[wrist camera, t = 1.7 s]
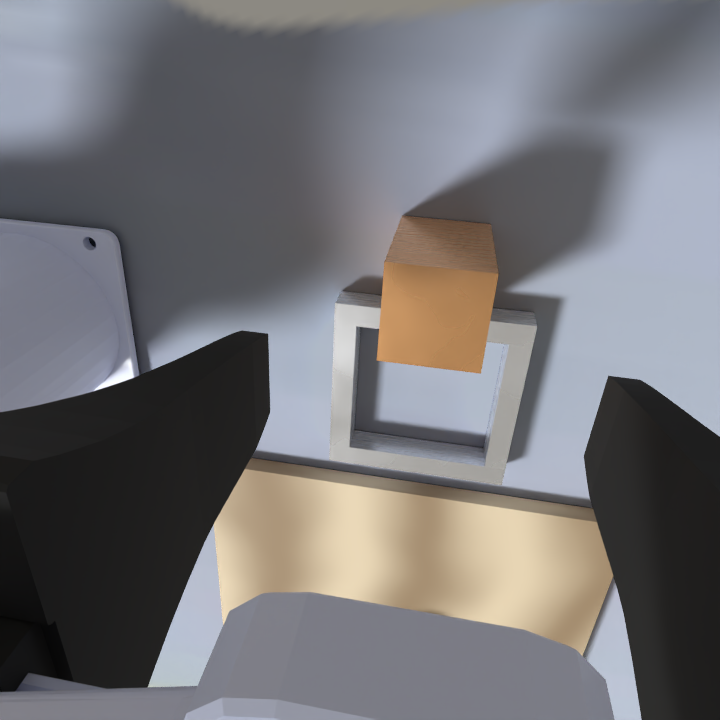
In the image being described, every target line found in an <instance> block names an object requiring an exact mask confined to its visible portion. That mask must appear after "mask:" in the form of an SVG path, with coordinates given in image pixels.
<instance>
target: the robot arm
mask: <svg viewBox="0 0 720 720" xmlns="http://www.w3.org/2000/svg"><path fill="white" fill-rule="evenodd" d="M89 237H90V238H92V239H93V240H94V241H95V243H96V247H94V246H92V245H91V244H90V242H89ZM269 414H270V390H269V350H268V334H265V333H257V332H249V331H239V332H236V333H233V334H231V335H228V336H226V337H224V338H221V339H219V340H217V341H215V342H213V343H211V344H209V345H207V346H205V347H202V348H200V349H198V350H196V351H194V352H192V353H190V354H188V355H185V356H183V357H181V358H179V359H177V360H175V361H172V362H170V363H168V364H165V365H163V366H161V367H158V368H156V369H153V370H151V371H149V372H146V373H144V374H142V375H139V369H138V363H137V356H136V350H135V343H134V336H133V330H132V323H131V317H130V310H129V303H128V297H127V290H126V284H125V277H124V270H123V264H122V257H121V251H120V244H119V241H118V238H117V237H116V236H115V234H114V233H112V232H111V231H109V230H106V229H97V228H88V227H78V226H69V225H59V224H49V223H40V222H30V221H21V220H11V219H2V218H0V720H614V715H613V711H612V707H611V702H610V698H609V693H608V689H607V684H606V680H605V679H604V678H603V677H602V676H601V675H600V674H599V673H598V672H597V671H596V670H595V668H594V667H593V666H592V665H591V664H590V663H589V662H588V661H587V660H586V659H585V658H584V657H583V656H582V655H581V654H580V653H579V652H578V651H577V650H576V649H574V648H572V647H570V646H568V645H565V644H562V643H560V642H557V641H554V640H551V639H549V638H546V637H543V636H540V635H538V634H535V633H532V632H529V631H527V630H524V629H518V628H512V627H507V626H501V625H495V624H490V623H484V622H478V621H473V620H467V619H461V618H456V617H450V616H444V615H439V614H433V613H427V612H421V611H416V610H410V609H404V608H399V607H393V606H387V605H382V604H376V603H370V602H365V601H359V600H353V599H348V598H342V597H336V596H331V595H325V594H319V593H313V592H269V593H263V594H260V595H258V596H256V597H254V598H253V599H251V600H249V601H247V602H245V603H243V604H242V605H240V606H238V607H236V608H234V609H232V610H230V611H229V613H228V616H227V618H226V620H225V623H224V625H223V627H222V630H221V632H220V634H219V637H218V639H217V642H216V644H215V646H214V649H213V651H212V653H211V656H210V658H209V660H208V663H207V665H206V668H205V670H204V672H203V675H202V677H201V679H200V682H199V684H198V686H181V687H149V688H147V687H148V684H149V682H150V679H151V676H152V673H153V671H154V668H155V665H156V662H157V660H158V657H159V654H160V652H161V649H162V646H163V644H164V641H165V638H166V635H167V633H168V630H169V627H170V625H171V622H172V620H173V617H174V615H175V612H176V610H177V607H178V605H179V602H180V600H181V597H182V595H183V592H184V590H185V587H186V585H187V582H188V580H189V577H190V575H191V573H192V570H193V568H194V566H195V563H196V561H197V558H198V556H199V554H200V551H201V549H202V547H203V544H204V542H205V540H206V538H207V536H208V534H209V532H210V530H211V528H212V526H213V524H214V523H215V521H216V519H217V517H218V515H219V514H220V512H221V510H222V508H223V507H224V505H225V503H226V501H227V500H228V498H229V496H230V494H231V493H232V491H233V489H234V487H235V486H236V484H237V482H238V480H239V479H240V477H241V475H242V473H243V471H244V470H245V468H246V466H247V464H248V462H249V461H250V459H251V457H252V455H253V453H254V451H255V450H256V448H257V445H258V443H259V440H260V438H261V435H262V433H263V430H264V427H265V425H266V422H267V419H268V416H269ZM584 460H585V468H586V476H587V483H588V490H589V496H590V500H591V503H592V507H593V510H594V514H595V517H596V521H597V524H598V527H599V531H600V534H601V537H602V540H603V544H604V547H605V550H606V553H607V557H608V560H609V563H610V566H611V570H612V573H613V576H614V579H615V583H616V586H617V589H618V593H619V597H620V601H621V605H622V608H623V612H624V617H625V623H626V628H627V634H628V639H629V645H630V650H631V656H632V661H633V667H634V674H635V680H636V686H637V693H638V699H639V705H640V711H641V718H642V720H720V437H719V436H718V435H716V434H715V433H714V432H712V431H711V430H710V429H708V428H707V427H705V426H704V425H703V424H701V423H700V422H699V421H697V420H696V419H695V418H693V417H692V416H691V415H689V414H688V413H687V412H685V411H684V410H682V409H681V408H680V407H678V406H677V405H676V404H674V403H673V402H672V401H670V400H669V399H668V398H666V397H665V396H664V395H662V394H661V393H659V392H658V391H657V390H655V389H654V388H652V387H651V386H649V385H648V384H646V383H644V382H643V381H641V380H637V379H629V378H621V377H613V376H608V379H607V382H606V385H605V389H604V392H603V395H602V398H601V402H600V405H599V408H598V412H597V415H596V418H595V421H594V425H593V428H592V431H591V434H590V438H589V441H588V444H587V448H586V451H585V454H584Z"/></svg>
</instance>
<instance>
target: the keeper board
mask: <svg viewBox="0 0 720 720" xmlns="http://www.w3.org/2000/svg"><path fill="white" fill-rule="evenodd" d="M214 531H215V541H216V552H217V563H218V574H219V585H220V596H221V606H222V617H223V625H224V623H225V620H226V618H227V616H228V613H229V611H230V610H232V609H234V608H236V607H238V606H240V605H242V604H243V603H245V602H247V601H249V600H251V599H253V598H254V597H256V596H258V595H260V594H263V593H269V592H313V593H319V594H325V595H331V596H336V597H342V598H348V599H353V600H359V601H365V602H370V603H376V604H382V605H387V606H393V607H399V608H404V609H410V610H416V611H421V612H427V613H433V614H439V615H444V616H450V617H456V618H461V619H467V620H473V621H478V622H484V623H490V624H495V625H501V626H507V627H512V628H518V629H524V630H527V631H529V632H532V633H535V634H538V635H540V636H543V637H546V638H549V639H551V640H554V641H557V642H560V643H562V644H565V645H568V646H570V647H572V648H574V649H576V650H577V651H578V652H579V653H580V654H581V655H582V656H583V653H584V651H585V648H586V645H587V643H588V640H589V638H590V635H591V632H592V630H593V627H594V625H595V622H596V619H597V617H598V614H599V612H600V609H601V607H602V604H603V601H604V599H605V596H606V594H607V591H608V588H609V586H610V583H611V581H612V578H613V573H612V570H611V566H610V563H609V560H608V557H607V553H606V550H605V547H604V544H603V540H602V537H601V534H600V531H599V527H598V524H597V521H596V517H595V514H594V510H593V509H592V508H585V507H579V506H572V505H565V504H558V503H552V502H545V501H538V500H532V499H525V498H518V497H511V496H505V495H498V494H491V493H484V492H478V491H471V490H464V489H458V488H451V487H444V486H437V485H431V484H424V483H417V482H410V481H404V480H397V479H390V478H384V477H377V476H370V475H363V474H357V473H350V472H343V471H336V470H330V469H323V468H316V467H310V466H303V465H296V464H289V463H283V462H276V461H269V460H263V459H256V458H251V459H250V461H249V462H248V464H247V466H246V468H245V470H244V471H243V473H242V475H241V477H240V479H239V480H238V482H237V484H236V486H235V487H234V489H233V491H232V493H231V494H230V496H229V498H228V500H227V501H226V503H225V505H224V507H223V508H222V510H221V512H220V514H219V515H218V517H217V519H216V521H215V523H214Z"/></svg>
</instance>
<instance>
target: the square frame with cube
mask: <svg viewBox="0 0 720 720" xmlns="http://www.w3.org/2000/svg"><path fill="white" fill-rule="evenodd" d="M498 275H499V272H498V266H497V260H496V253H495V247H494V241H493V234H492V228H491V224H485V223H475V222H464V221H454V220H443V219H433V218H423V217H412V216H402V218H401V220H400V223H399V225H398V228H397V231H396V233H395V236H394V238H393V241H392V244H391V246H390V249H389V251H388V254H387V257H386V259H385V262H384V274H383V287H382V295H373V294H364V293H355V292H346V291H341V293H340V295H339V297H338V299H337V301H336V302H335V320H334V347H333V375H332V402H331V429H330V457H329V460H332V461H339V462H346V463H353V464H360V465H367V466H373V467H380V468H387V469H394V470H401V471H407V472H414V473H421V474H428V475H435V476H441V477H448V478H455V479H462V480H469V481H476V482H482V483H489V484H496V485H502V481H503V477H504V472H505V468H506V463H507V459H508V455H509V450H510V446H511V441H512V437H513V432H514V428H515V423H516V419H517V415H518V410H519V406H520V401H521V397H522V392H523V388H524V384H525V379H526V375H527V370H528V366H529V361H530V357H531V353H532V348H533V344H534V339H535V335H536V330H537V323H536V319H535V316H534V312H525V311H516V310H507V309H498V308H493V303H494V297H495V292H496V286H497V281H498ZM361 327H366V328H375V329H379V338H378V351H377V361H385V362H393V363H401V364H409V365H417V366H425V367H433V368H441V369H449V370H457V371H465V372H473V373H481V369H482V364H483V358H484V352H485V347H486V342H492V343H501V344H504V347H503V353H502V358H501V363H500V368H499V373H498V378H497V383H496V388H495V393H494V398H493V403H492V408H491V413H490V418H489V423H488V428H487V433H486V438H485V444H484V448H478V447H471V446H464V445H457V444H450V443H442V442H435V441H428V440H421V439H414V438H407V437H400V436H392V435H385V434H378V433H371V432H364V431H357V430H354V427H355V411H356V395H357V378H358V362H359V346H360V329H361Z"/></svg>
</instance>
